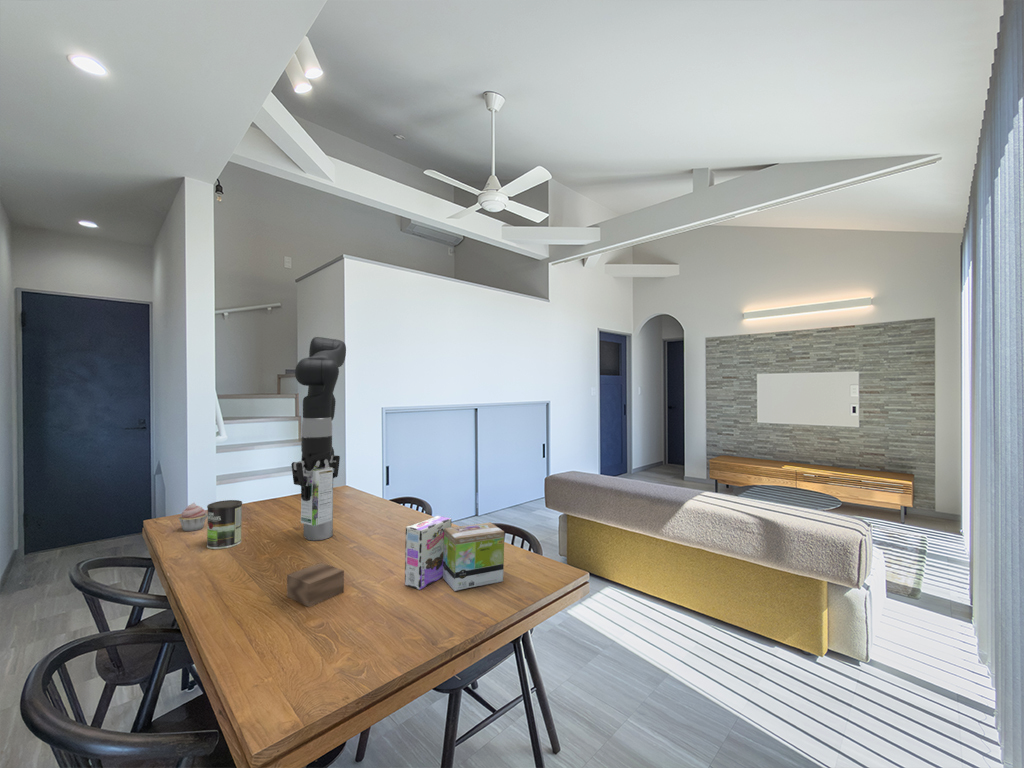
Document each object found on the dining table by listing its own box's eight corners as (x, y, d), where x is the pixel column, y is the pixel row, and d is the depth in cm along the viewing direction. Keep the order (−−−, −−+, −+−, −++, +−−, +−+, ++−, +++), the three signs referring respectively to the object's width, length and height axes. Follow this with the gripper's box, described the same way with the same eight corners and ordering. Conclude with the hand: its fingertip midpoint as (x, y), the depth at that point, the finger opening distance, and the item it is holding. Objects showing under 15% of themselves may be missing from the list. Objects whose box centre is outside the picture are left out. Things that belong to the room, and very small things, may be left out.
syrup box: (299, 523, 119) (300, 468, 119) (318, 517, 124) (319, 464, 124) (314, 526, 116) (314, 470, 116) (333, 520, 121) (333, 466, 121)
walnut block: (287, 597, 118) (287, 574, 118) (321, 583, 127) (321, 562, 127) (309, 608, 113) (309, 584, 113) (343, 593, 121) (343, 570, 121)
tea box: (454, 593, 121) (455, 538, 121) (442, 578, 130) (442, 527, 130) (504, 582, 128) (505, 529, 128) (489, 569, 137) (489, 520, 137)
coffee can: (220, 551, 150) (220, 508, 150) (199, 546, 154) (200, 505, 154) (248, 541, 160) (249, 501, 160) (228, 537, 163) (228, 498, 163)
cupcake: (212, 527, 174) (212, 502, 174) (184, 534, 166) (185, 507, 166) (201, 523, 179) (201, 498, 179) (173, 530, 171) (173, 503, 171)
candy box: (419, 590, 122) (420, 530, 122) (404, 585, 125) (404, 526, 125) (452, 572, 134) (452, 517, 134) (436, 568, 137) (437, 514, 137)
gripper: (328, 431, 128) (327, 490, 128) (283, 436, 115) (282, 502, 115) (348, 432, 125) (347, 493, 125) (304, 438, 112) (303, 505, 112)
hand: (316, 497), depth 120 cm, fingers closed on syrup box, 6 cm apart
